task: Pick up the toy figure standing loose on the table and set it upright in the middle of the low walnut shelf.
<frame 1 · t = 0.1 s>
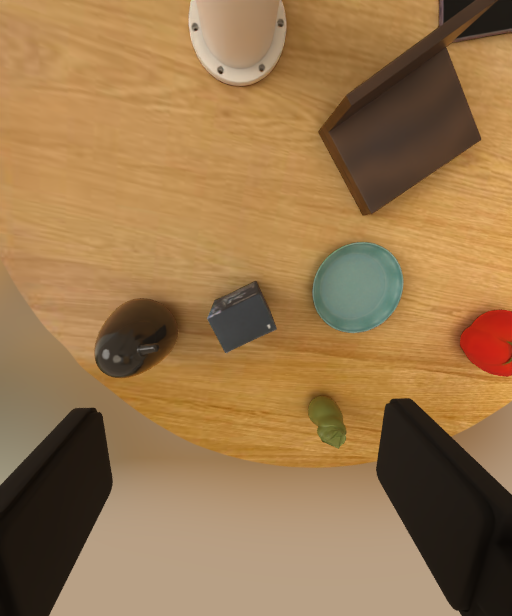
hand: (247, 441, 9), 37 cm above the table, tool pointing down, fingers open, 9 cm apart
smartphone: (491, 5, 38), on the table
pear: (319, 402, 52), on the table
box: (241, 304, 46), on the table
pump dispenser: (152, 322, 46), on the table
saucer: (351, 286, 47), on the table
shelf: (393, 139, 41), on the table
tomato: (476, 333, 50), on the table
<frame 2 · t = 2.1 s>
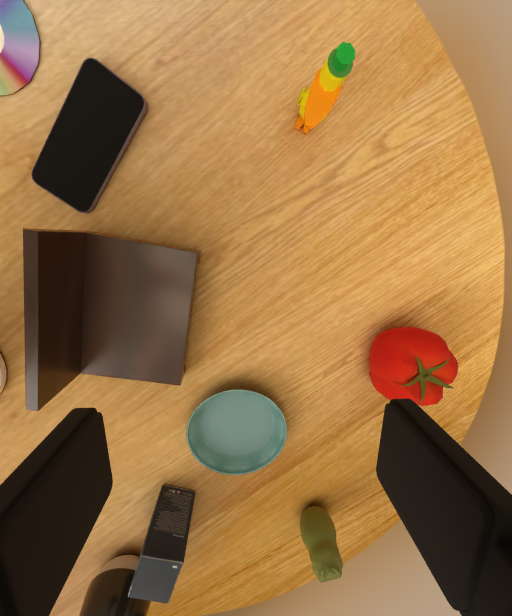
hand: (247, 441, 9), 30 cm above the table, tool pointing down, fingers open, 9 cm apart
smartphone: (92, 143, 32), on the table
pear: (311, 509, 49), on the table
toy figure: (302, 125, 33), on the table
box: (173, 503, 46), on the table
pump dispenser: (129, 564, 49), on the table
saucer: (237, 422, 43), on the table
shelf: (139, 308, 37), on the table
tomato: (389, 352, 42), on the table
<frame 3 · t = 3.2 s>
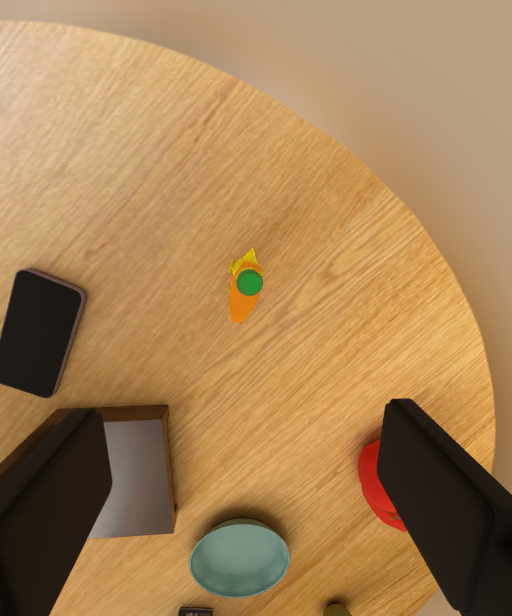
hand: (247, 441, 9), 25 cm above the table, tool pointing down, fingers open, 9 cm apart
smartphone: (42, 334, 33), on the table
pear: (333, 605, 48), on the table
toy figure: (243, 274, 33), on the table
saucer: (239, 542, 43), on the table
shelf: (121, 464, 38), on the table
tomato: (380, 455, 41), on the table
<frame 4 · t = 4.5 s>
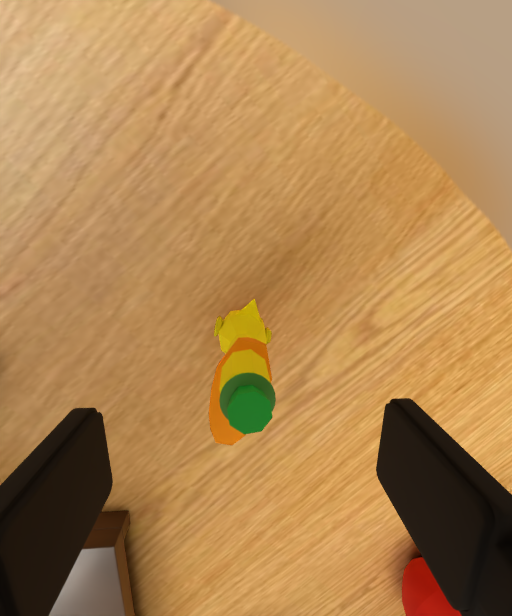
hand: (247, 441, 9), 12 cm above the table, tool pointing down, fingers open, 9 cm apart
toy figure: (238, 327, 21), on the table
shelf: (63, 588, 26), on the table
tomato: (429, 565, 29), on the table
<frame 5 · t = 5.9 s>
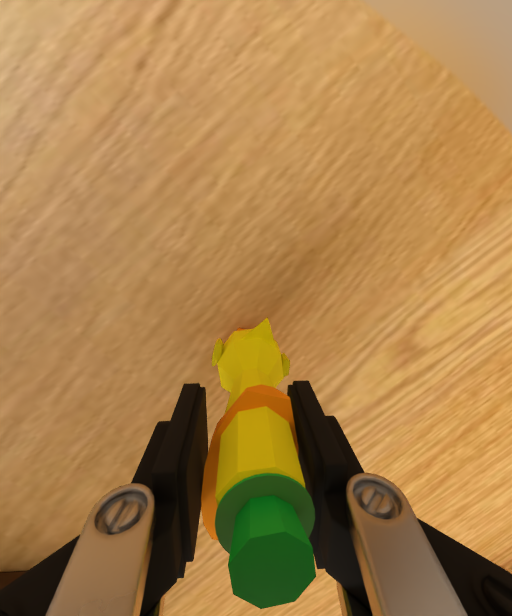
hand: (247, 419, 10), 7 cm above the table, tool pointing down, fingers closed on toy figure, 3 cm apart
toy figure: (244, 347, 17), on the table, touching gripper
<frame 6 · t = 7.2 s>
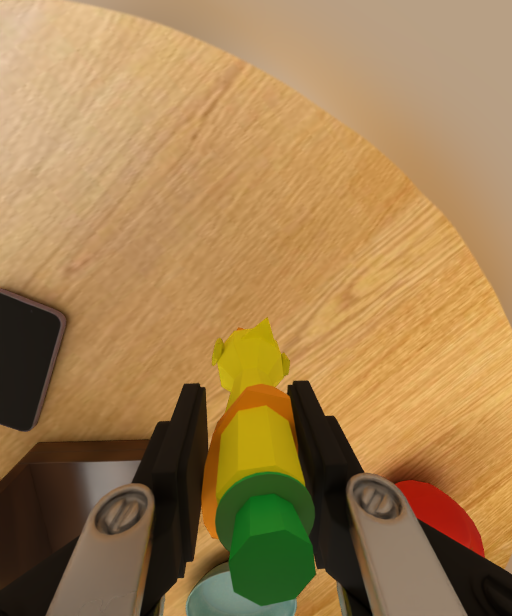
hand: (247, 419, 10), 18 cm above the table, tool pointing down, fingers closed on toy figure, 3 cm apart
smartphone: (19, 361, 29), on the table
toy figure: (244, 346, 17), point 12 cm above the table, touching gripper
saucer: (241, 583, 39), on the table
shelf: (111, 501, 34), on the table
tomato: (401, 495, 36), on the table
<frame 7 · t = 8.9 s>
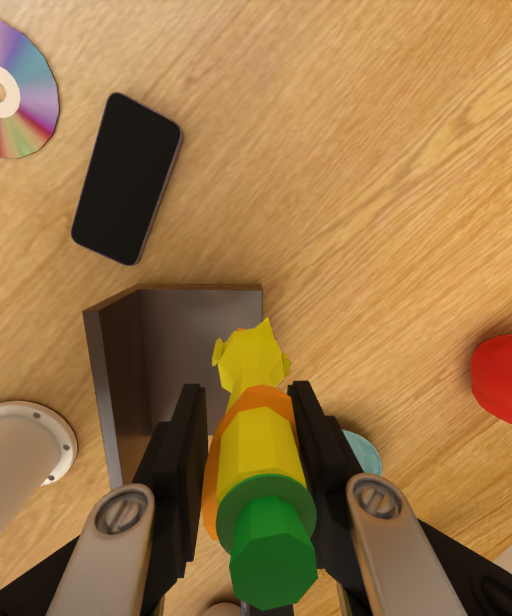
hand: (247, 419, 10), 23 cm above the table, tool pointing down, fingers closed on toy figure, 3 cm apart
smartphone: (128, 188, 29), on the table
toy figure: (244, 346, 17), point 16 cm above the table, touching gripper
box: (262, 549, 43), on the table
pump dispenser: (225, 610, 47), on the table
saucer: (321, 459, 39), on the table
shelf: (202, 356, 34), on the table
tomato: (490, 361, 36), on the table
when the fingers open (10 cm above the table, at t = 13.0 s): toy figure stays where it is, resting on shelf.
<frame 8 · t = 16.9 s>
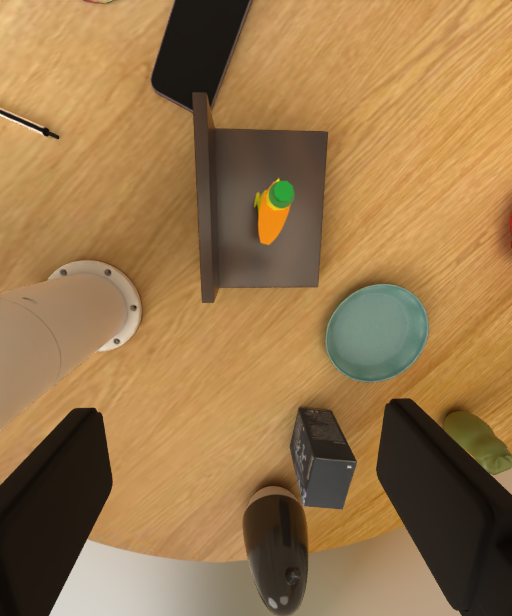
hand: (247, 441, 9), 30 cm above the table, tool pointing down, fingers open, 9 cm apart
smartphone: (203, 37, 31), on the table
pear: (450, 417, 46), on the table
toy figure: (265, 214, 34), point 3 cm above the table, touching shelf
box: (309, 427, 45), on the table
pump dispenser: (271, 497, 49), on the table
saucer: (368, 329, 41), on the table
shelf: (263, 215, 36), on the table
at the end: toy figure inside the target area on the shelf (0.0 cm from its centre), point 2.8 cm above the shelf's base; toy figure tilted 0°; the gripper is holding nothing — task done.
